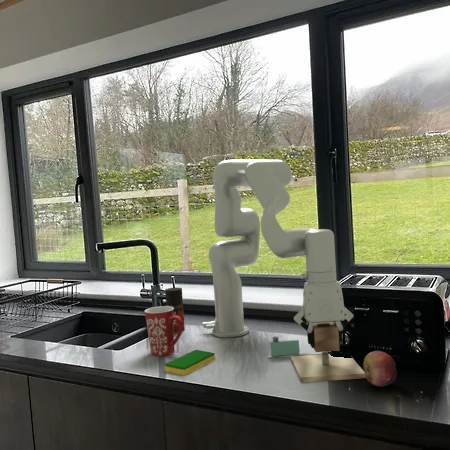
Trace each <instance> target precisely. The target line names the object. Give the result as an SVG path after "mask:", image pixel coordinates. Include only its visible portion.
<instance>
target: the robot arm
mask: <svg viewBox="0 0 450 450" xmlns="http://www.w3.org/2000/svg"><path fill="white" fill-rule="evenodd" d="M292 175H293V173H292V170H291V167H290V166H289V164H288V163H286V161H285V160H281V159H227V160H222V161H221V162H218V164H217V165H216V166H215V167H214V170H213V174H212V181H213V188H214V194H215V197H214V198H215V199H214V200H215V202H214V207H215V208H214V231H215V234H216V235H217V236H218V237H220V238H222V239H223V238H227V239H229V238H236V237H240V238H239V239H230V240H219V241H217V242H215V243H213V244H212V245H211V246H210V247H209V250H208V261H209V264H210V268H211V273H212V280H213V281H212V283H213V294H214V310H215V311H214V312H215V318H214V320H212V321H203V322H202V327H203V329H207V330H208V329H210V330H211V329H212V330H211V334H212V335H213V336H214V337H217V338H236V337H242V336H246V334H248V333H249V329H250V328H249V326H246V325H245V323H244V322H245V318H244V302H243V290H242V289H243V286H242V279H241V277H240V276H239V274H238V272H237V271H236V268H241V267H249V266H252V265H254V264H255V263H256V262H257V260H258V258H259V251H260V250H259V249H260V237H261V236H260V233H261V234H262V237H263V238H264V241H265V242H266V244H267V246H268V247H269V249H270V251H271V253H273V254H274V255H275V256H276V257H277V258H280V259H290V258H296V257H304V256H305V268H306V269H305V272H304V273H301V274H300V278H301V280H305V281H306V282H304V284H303V285H304V286H303V292H302V293H303V297H302V307H301V309H300V310H299V311H297V313H296V314H295V315H294V316H293V320H294V321H295V322H296V323H297V324H298V325H299V326H301V328H303V329H304V330H305V331H306V333H307V343H308V345H310V347H311V349H314V347H315V343H314V333H313V327H314V324H315V323H322V322H334V323H335V325H336V326H337V327H338V331H339V347H341V343H342V342H343V331H344V328H345V327H346V326H347V325H348V324H349V322H350V321H351V320H352V319H353V318H354V314H353V313H352V312H351V311H350V310H349V309H347V307H346V306H345V303H344V296H343V295H344V294H343V291H342V286H341V282H340V281H338V280H337V269H336V268H337V267H336V249H335V248H336V247H335V246H336V245H335V244H336V243H335V234H334V232H333V231H332V230H331V229H328V228H327V229H325V228H321V229H318V228H316V229H315V228H312V227H302V228H301V227H300V228H289V229H283V228H282V226H281V225H280V223H279V221H278V219H277V217H276V215H278V214H279V213H281V212H282V211H284V209H286V208H287V206H289V203H290V202H291V195H290V194H289V192H288V190H287V189H286V187H287V186H288V185H289V184H290V183H291V180H292V178H293V177H292ZM237 187H250V190H252V192H253V193H254V196H255V197H256V199H257V201H258V203H259V204H260V206H261V208H262V209H263V210H262V213H261V215H260V216H261V217H259V215H258V212H256V210H254V209H253V208H249V207H244V208H243V207H242V206H241V205H242V197H241V196H242V195H241V193H240V191H239V190H238V188H237ZM302 318H304V319H305V321H306V322H305V321H304V320H302ZM307 321H308V322H307Z"/></svg>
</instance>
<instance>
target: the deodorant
mask: <svg viewBox="0 0 450 450" xmlns="http://www.w3.org/2000/svg"><path fill="white" fill-rule="evenodd" d="M183 300H184V299H183V287H169V288H165V303H166V305H165V306H170V307H173V308H174V310H173V316H179V317H181V319H182V321H183V330H182V333H183V332H185V318H184V317H185V315H184V314H185V313H184V301H183ZM178 331H179V323H178V321H177V320H176V319H174V334H178Z"/></svg>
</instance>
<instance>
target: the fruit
mask: <svg viewBox="0 0 450 450" xmlns="http://www.w3.org/2000/svg"><path fill="white" fill-rule="evenodd" d="M362 366H363V367H362V369H363V371H364V373H365V376H366V378H365V379H366V381H368V382H369V383H370V384H371V385H373V386H376V387H379V388H383V387H387V386H389V385H391V384H393V383H395V381H396V380H397V376H398V370H397V368H396V366H397V364H396V361H395V360H394V358H393V357H392V356H391V355H390V354H388V353H386V352H384V351H382V350H381V351H380V350H374V351H370V352H369V353H367V355H365V357H364V359H363V363H362Z"/></svg>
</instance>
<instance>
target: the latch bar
mask: <svg viewBox="0 0 450 450" xmlns="http://www.w3.org/2000/svg"><path fill="white" fill-rule="evenodd" d="M269 342H270V356H280V355H295V354H300V341H299V339H284V340H279V336H273V337H272V340H270V341H269Z"/></svg>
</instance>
